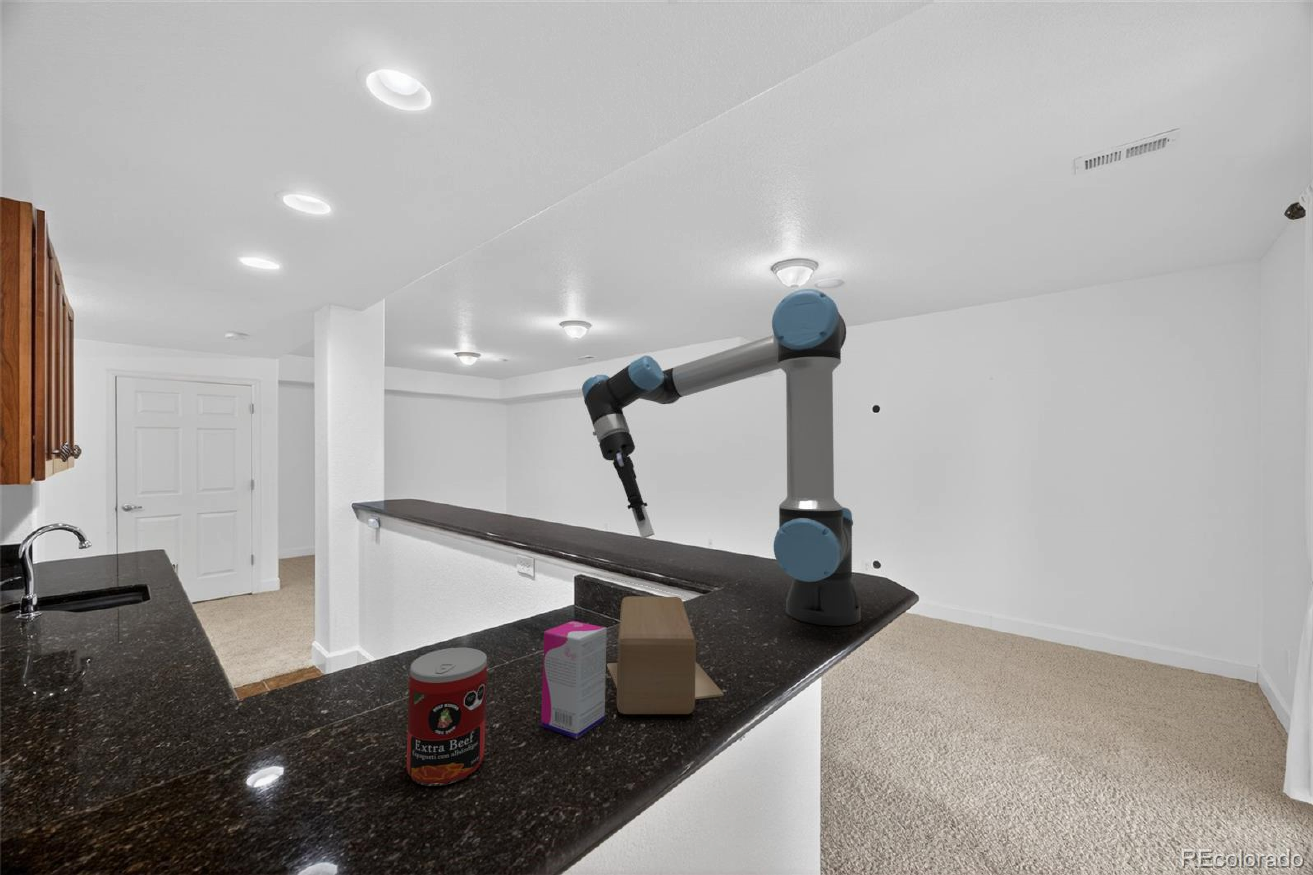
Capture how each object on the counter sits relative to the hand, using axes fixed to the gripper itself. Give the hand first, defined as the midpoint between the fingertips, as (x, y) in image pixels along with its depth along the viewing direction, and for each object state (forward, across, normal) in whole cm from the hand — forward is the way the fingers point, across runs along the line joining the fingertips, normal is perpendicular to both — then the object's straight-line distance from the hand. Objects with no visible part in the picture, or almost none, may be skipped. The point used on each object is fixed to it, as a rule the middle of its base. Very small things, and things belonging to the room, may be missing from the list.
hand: (647, 536), depth 110 cm
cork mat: (+26, +24, -3) cm, 35 cm away
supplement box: (+27, +37, -14) cm, 48 cm away
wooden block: (+18, +18, -3) cm, 26 cm away
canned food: (+27, +47, -25) cm, 60 cm away
